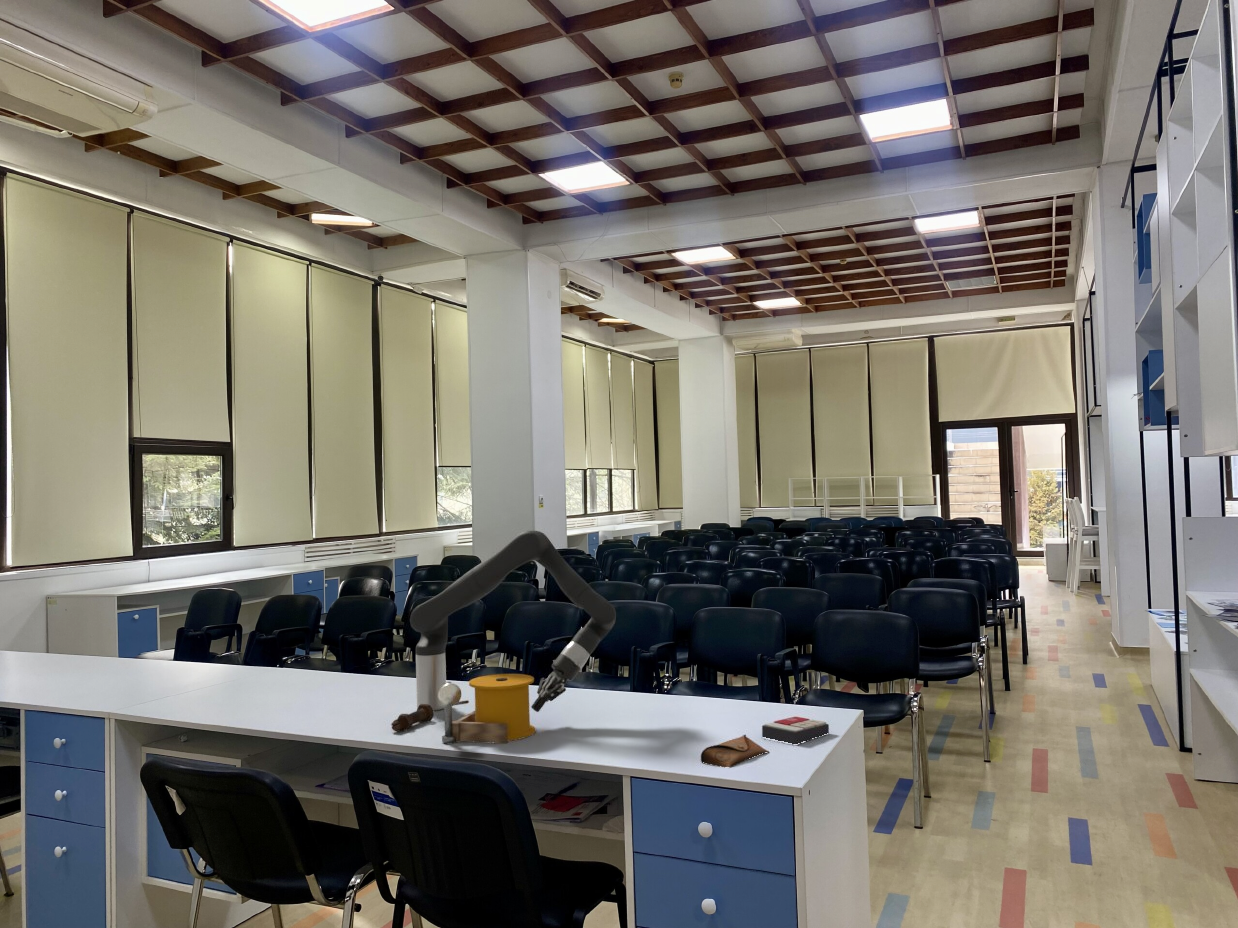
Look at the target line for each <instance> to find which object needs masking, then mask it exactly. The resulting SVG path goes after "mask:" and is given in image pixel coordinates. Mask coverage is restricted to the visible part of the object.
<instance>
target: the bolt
mask: <svg viewBox="0 0 1238 928" xmlns="http://www.w3.org/2000/svg"><path fill="white" fill-rule="evenodd" d="M434 715H435V714H434V710H433V709H432V707H431V706H430V705H429V704H420V705H419V707H418V709H417V708H416V711H413V712H411V713H401V714H399V715H398V717H397V719H395V720H393V721H392V722H391V724H390V725H391V730H392V731H394V732H399V731H408V729H409V730H410V729H411V728H412V727H413V725H415V724H417V723H420V722H422V723H429V721H430V722H431V721H432V720H433V718H434Z"/></svg>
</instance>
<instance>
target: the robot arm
mask: <svg viewBox="0 0 1238 928" xmlns="http://www.w3.org/2000/svg"><path fill="white" fill-rule="evenodd" d="M531 561H532V562H533V561H535V562H537V563H538V564H539V565H541V566H542V567H543V568H544V569H545V570H547V571H548V573H549V574H550V575H551V576H552V578H553V579H554V580H555V582H556V584H557V585H558V586H559V587H558V588H560V590H561V591H562V592H563V594H564V595H565V596H566V597H567V598H568V599H569V600H570V601H571V602H572V603H573V604H574V605H575V606H576V607H578V608H579V609H581V610H584V611H585V612H586V613H587V614H588V615H589V616H590V619H589V620H588V621H587V623H586V624H585V625H584V626H583V627H582V628H580V629H579V630H578V631H577V633H576V634H575V635H574V636H573V638H572V639H571V641H570V642H569V643H568V644H567V645H566V646H565V647H564V648H563V650H562V651H561V652H560V654H559V655H558V656H557V657H556V658H555V660H554V662H552V664H551V668H552V669H553V671H552V672H551V673H550V674H549V675H548V677H547V678H545V677H542V678H541V679H540V681H539V685H538V688H537V692H536V693H537V694H538V695H537V698H536V699H535V701H534V702H533V703H532V705H531V706H530V707H531V709H532V710H533V711H534V712H536V713H539V712H540V711H541V710H542V708H543V707H544V706H545V704H546V703H548V702H549V701H550V702H552V701H554V700H555V699H557V698H558V697H559V696H560V695H562V694H563V693H565V692H566V691H567V689H566V687H565V685H566V684H567V681H568V682H572V681H574V679H575V678H576V677H577V676H578V674H579V673H580V671H581V670H582V669H583V667H584V666H585V664H586V663H587V661H588V659H589V658H590V656H591V655H592V653H593V652H594V651H595V650H596V648H597V647H598V645H599V644H600V642H601V641H602V640H603V639H604V638H605V637H606V636H607V635H608V634H609V633H610V631H611V630H612V629H613V627H614V626H615V624H616V621H617V620H616V618H617V611H616V608H615V607H614V606H613V604H611V602H610V601H609V600H607V599H606V598H605V597H603V596H602V595H600V594H599V593H597V591H595V589H593V588H592V587H591V586H590V585H589V583H587V582H586V580H584V579H583V578H582V577H581V576H580V575H579V574H578V573H577V572H576V571H575V570H574V569H573V568H572V567H571V565H569V563H568V562H567V561H566V560H565V558H563V556H562V555H561V554H560V553H559V551H558V549H556V548H555V546H554V544H553V542H552V541H551V540H550V538H549V537H548V536H547V535H546V534H545V533H543V532H542V531H540V530H524V531H522V532H521V533H519V534H518V535H516V536H515V537H514V538H513V539H512V540H510V542H508V544H506V545H505V546H504V547H503V548H501V549H500V550H499V551H498V552H496V553H495V554H493V555H491V556H490V557H488V558H487V559H485V560H483V561H482V562H481V563H479V564H478V565H475V566H474V567H473V568H471V569H470V570H469V571H467V572H466V573H464V574H463V575H462V576H461V577H459V578H458V579H456V580H455V581H454V582H453V583H452V584H450V585H449V586H448V587H446V588H445V589H444V590H443V591H442V592H440V593H439V594H437V595H435V596H433V597H432V598H430V599H428V600H426V601H425V602H423V603H420V604H418V605H417V606H416V607H415V608H413V610H412V612H411V614H410V618H409V622H410V626H411V628H412V629H413V630H414V631H415V632H418V633H420V639H419V641H418V642H417V644H416V646H415V675H416V678H415V679H416V680H415V681H416V710H417V709H418V707H419V705H420V704H429V705H430V706H431V707H432V709H433V711H438V710H440V711H441V710H443V709H444V704H442V703H441V702H440V700H439V697H438V693H439V690H440V688H441V687H442V686H443V685H444V682H447V673H446V672H447V669H446V668H447V665H446V663H447V662H446V646H447V644H448V643H447V642H448V635H449V634H448V630H449V628H448V627H449V625H448V624H449V616H450V615H452V614H453V613H455V612H457V611H459V610H461V609H464V608H466V607H468V606H470V605H473V603H475V602H477V601H479V600H481V599H483V598H484V597H486V596H488V594H490V593H491V592H493V591H494V590H495V589H496V588H497V587H498V586H499V585H500V584H502V582H503V581H504V579H505V578H506V577H507V576H508V575H510V573H511V572H513V571H514V570H516V569H517V568H519V567H521V566H523V565H525V564H526V563H529V562H531Z"/></svg>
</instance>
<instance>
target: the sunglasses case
mask: <svg viewBox="0 0 1238 928" xmlns="http://www.w3.org/2000/svg"><path fill="white" fill-rule="evenodd" d="M764 752H768V753H770V751H769V750H767V749H766V748H763V747H762V746H760V745H759V744H758V743H756V742H755V741H753V740H752V739H751V738H749V737H748V736H747V735H746V734H743V735H741V736H740V737H736V738H732V739H729V740H726V741H724V742H722V743H719V744H715V745H714V744H713V745H711V746H707V747H706V748H704V749H703V750H702V752H701V754H700V761H701V763H702V764H705V763H707V765H710V764H712V765H711V766H715V765H717V766H716V767H720V766H721V767H720V768H725V767H730V768H732V767H734V766H736V765H739V764H741V763H742V762H743V763H744V762H745V760H746V761H748V760H747V759H749V758H751V759H753V758H752V757H754V756H757V755H759V754H762V753H764ZM762 755H763V754H762ZM759 756H760V755H759ZM757 757H758V756H757ZM754 758H755V757H754ZM749 760H750V759H749ZM703 762H704V763H703ZM740 762H741V763H740Z"/></svg>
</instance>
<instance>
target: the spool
mask: <svg viewBox="0 0 1238 928" xmlns="http://www.w3.org/2000/svg"><path fill="white" fill-rule="evenodd" d="M534 682H535V678H534V676H532V675H528V674H523V673H497V674H496V673H495V674H488V675H482V676H478V677H475V678H471V679H470V680H469V682H468V685H469V687H471V688H474V711H475V720H476V722H481V723H507V737H508V740H512V741H516V740H515V739H518V740H520V739H519V738H522V739H524V738H523V737H526V738H528V737H527V736H529V737H531V736H533V735H534V734H535V733H536V727H535V726H534V725H532V724H530V723H531V721H530V718H531V717H530V716H531V715H530V687H529V686H530V685H531V684H533V683H534ZM532 734H533V735H532ZM530 735H531V736H530Z"/></svg>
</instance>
